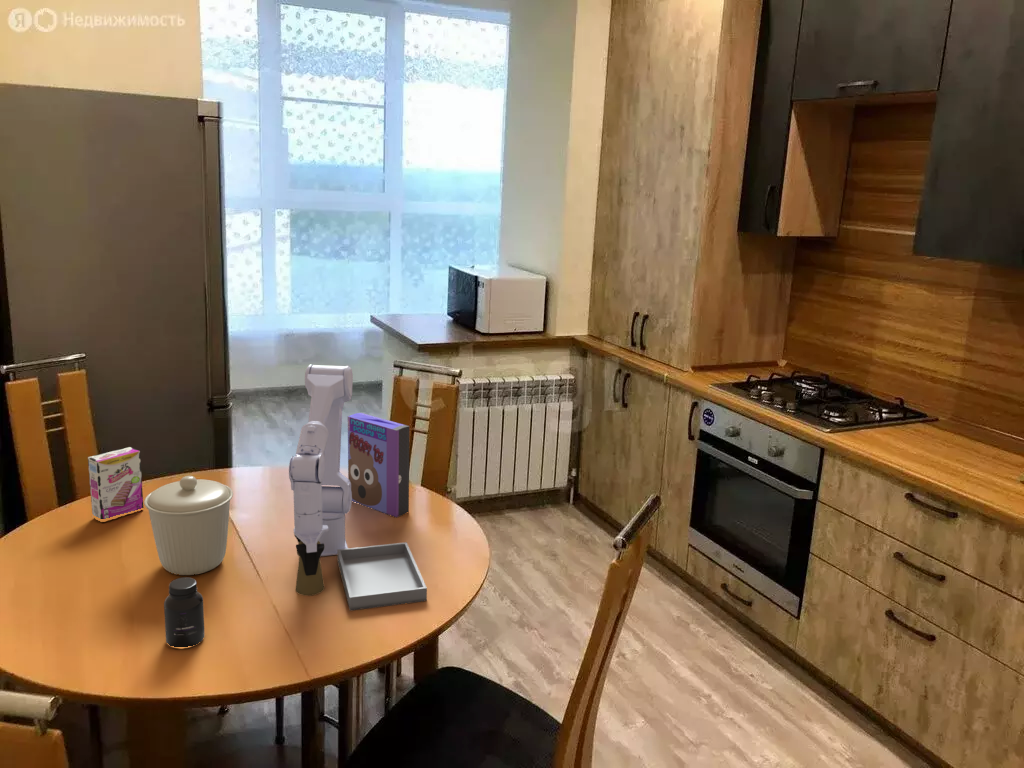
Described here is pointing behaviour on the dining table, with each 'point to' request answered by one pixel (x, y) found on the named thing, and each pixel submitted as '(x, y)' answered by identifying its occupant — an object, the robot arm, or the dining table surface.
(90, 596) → the dining table surface
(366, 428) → the cereal box
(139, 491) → the candy bar box
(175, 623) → the supplement bottle
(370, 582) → the box
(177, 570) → the canister
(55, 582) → the dining table surface
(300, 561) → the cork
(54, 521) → the dining table surface
